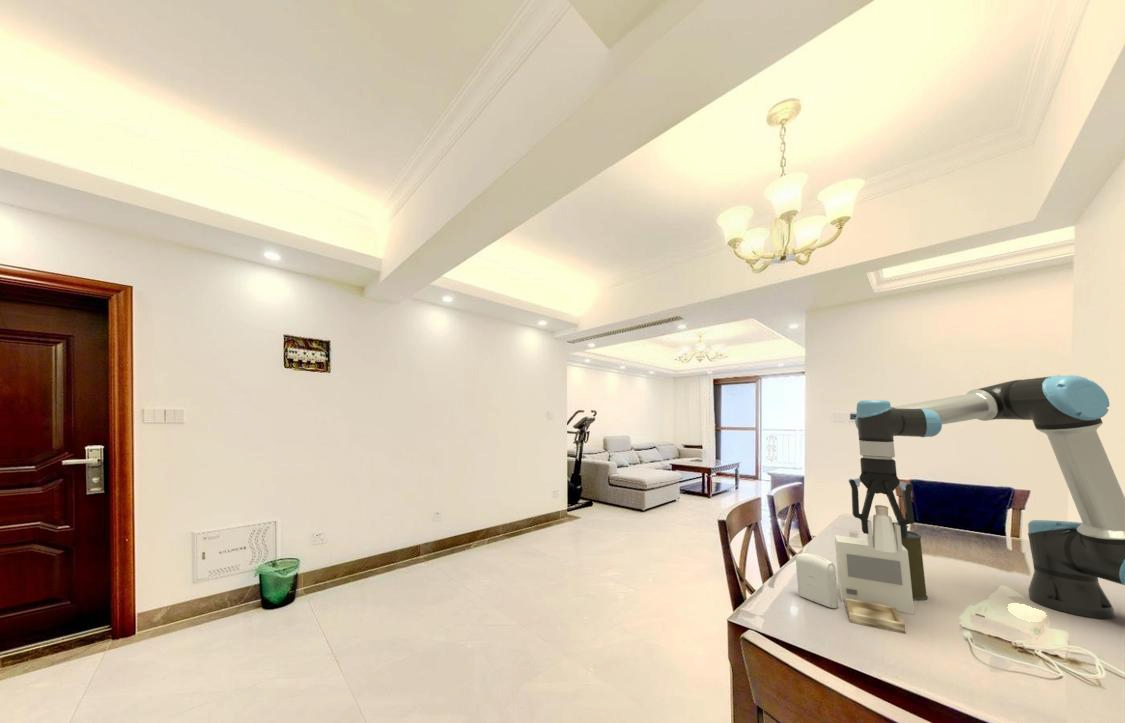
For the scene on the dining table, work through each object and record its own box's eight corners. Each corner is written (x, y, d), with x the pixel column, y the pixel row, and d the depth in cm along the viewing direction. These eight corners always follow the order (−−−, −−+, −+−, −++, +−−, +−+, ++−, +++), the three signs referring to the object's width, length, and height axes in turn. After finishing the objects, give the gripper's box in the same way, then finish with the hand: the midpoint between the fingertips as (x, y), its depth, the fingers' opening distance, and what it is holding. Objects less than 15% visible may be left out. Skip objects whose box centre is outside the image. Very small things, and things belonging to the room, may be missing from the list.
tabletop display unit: (906, 602, 116) (900, 543, 118) (914, 615, 108) (908, 551, 110) (838, 590, 123) (834, 534, 126) (842, 601, 116) (837, 541, 118)
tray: (895, 615, 108) (894, 607, 108) (905, 633, 98) (904, 624, 98) (845, 605, 113) (844, 598, 113) (850, 622, 103) (849, 613, 104)
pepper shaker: (898, 554, 103) (894, 509, 104) (871, 549, 106) (867, 505, 108) (898, 549, 107) (894, 506, 108) (872, 545, 110) (869, 503, 112)
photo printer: (795, 595, 119) (792, 550, 121) (805, 593, 121) (802, 549, 123) (831, 610, 110) (828, 561, 112) (841, 607, 112) (837, 559, 114)
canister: (937, 601, 117) (929, 528, 120) (900, 600, 117) (893, 527, 120) (906, 586, 128) (900, 519, 131) (873, 585, 128) (867, 518, 131)
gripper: (917, 459, 109) (926, 551, 105) (835, 454, 117) (840, 539, 114) (925, 461, 102) (935, 559, 99) (838, 456, 111) (844, 546, 107)
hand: (884, 548), depth 106 cm, fingers closed on pepper shaker, 5 cm apart
